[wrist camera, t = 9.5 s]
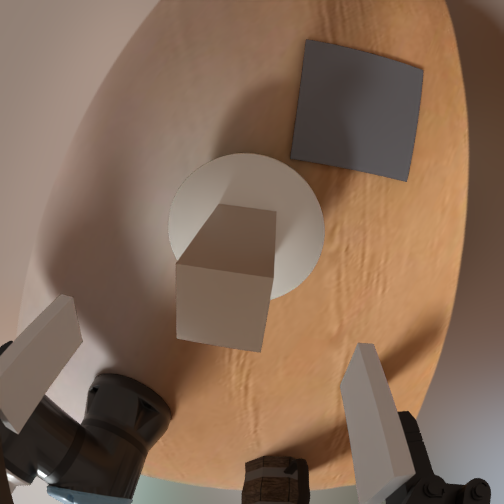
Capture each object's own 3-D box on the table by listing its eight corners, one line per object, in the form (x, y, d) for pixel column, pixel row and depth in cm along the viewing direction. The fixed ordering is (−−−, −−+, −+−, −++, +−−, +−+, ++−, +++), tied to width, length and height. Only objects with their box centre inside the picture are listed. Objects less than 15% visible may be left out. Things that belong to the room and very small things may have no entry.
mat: (290, 158, 28) (290, 158, 28) (305, 40, 23) (306, 39, 23) (404, 180, 28) (406, 182, 27) (421, 70, 23) (423, 70, 23)
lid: (172, 284, 29) (119, 372, 18) (176, 146, 24) (96, 169, 13) (306, 304, 29) (317, 405, 17) (335, 165, 23) (384, 204, 12)
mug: (291, 483, 55) (289, 538, 41) (235, 473, 54) (226, 530, 40) (336, 447, 47) (342, 516, 33) (270, 435, 46) (264, 510, 32)
